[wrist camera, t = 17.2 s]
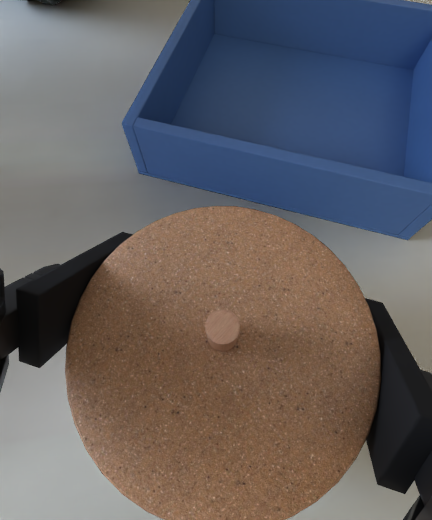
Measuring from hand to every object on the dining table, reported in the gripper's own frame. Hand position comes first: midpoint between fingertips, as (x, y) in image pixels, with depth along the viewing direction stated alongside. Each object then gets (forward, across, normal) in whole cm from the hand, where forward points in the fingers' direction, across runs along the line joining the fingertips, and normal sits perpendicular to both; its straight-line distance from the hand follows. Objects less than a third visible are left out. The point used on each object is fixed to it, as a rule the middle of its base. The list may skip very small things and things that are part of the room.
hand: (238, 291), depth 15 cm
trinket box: (+1, 0, -5) cm, 5 cm away
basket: (+16, 0, +9) cm, 18 cm away
